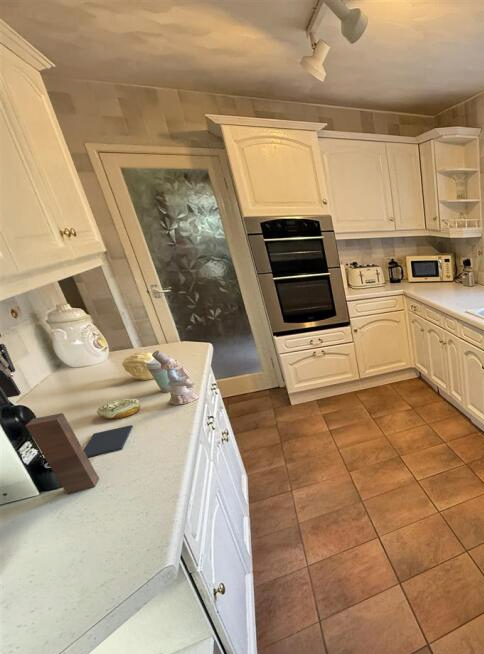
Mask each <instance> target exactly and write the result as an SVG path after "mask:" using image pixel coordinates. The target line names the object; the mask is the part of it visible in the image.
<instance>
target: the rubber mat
mask: <svg viewBox="0 0 484 654" xmlns="http://www.w3.org/2000/svg"><path fill="white" fill-rule="evenodd" d="M132 429H133V424H130V425H125V426H120V427H118V428H112V429H108V430H103V431H99V432H95V433H93V434H92V436H91V437H90V439H89V440H88V441H87V443H86V445H85V446H84V448H83V450H84V452H85V454H86V455H87V457H88V459H90V458H92V457H97V456H101V455H105V454H109V453H112V452H117V451H120V450H123V449H124V447H125V444H126V442H127V440H128V438H129V436H130V434H131V431H132Z"/></svg>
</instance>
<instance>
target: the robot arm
mask: <svg viewBox="0 0 484 654" xmlns="http://www.w3.org/2000/svg"><path fill="white" fill-rule="evenodd" d="M1 337H2V334H1V333H0V338H1ZM10 356H11V355H10V354H9V351H8V349H7V347H6V344H5V343H0V407H5V406H8V405H9V404H10V403H11V402H10V399H9V398H14V397H18V396H20V395H21V394H22V392H21V390H20V389H19V387H18V385H17V384H16V382H15V380H14V379H13V378H14V373H15V372H16V368H15V365H14V364H13V361H12V358H11V357H10Z"/></svg>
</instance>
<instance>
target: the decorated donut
mask: <svg viewBox="0 0 484 654" xmlns="http://www.w3.org/2000/svg"><path fill="white" fill-rule="evenodd" d="M140 408H141V403H140V400H139V399H136V398H122V399H117V400H113V401H111V402H108V403H106V404H103V405H100V406H99V407H98V408H97V410H96V414H97V416H99V417H101V418H102V419H105V420H115V419H117V420H119V419H121V418H125V417H128V416H129V417H130V416H133V415H134V414H136V413H138V412H139V411H140Z"/></svg>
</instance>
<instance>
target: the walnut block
mask: <svg viewBox="0 0 484 654" xmlns="http://www.w3.org/2000/svg"><path fill="white" fill-rule="evenodd" d="M25 428H26V430H27V431H28V433H29V434H30V436H31V438H32V439H33V441H34V443H35V444H36V446H37V448H38V449H39V451H40V452H41V454H42V456H43V458H44V459H45V460H46V462H47V464H48V465H49V467H50V469H51V471H52V472H53V474H54V475H55V477H56V479H57V481H58V482H59V484H60V485H61V487H62V489H63V490H64V492H65V494H66V495H70V494H74V493H78V492H82V491H85V490H89V489H93V488H96V486H97V484H98V482H99V480H100V477H99V475H98V473H97V471H96V469H95V468H94V466H93V465H92V463H91V460H90V458H88V457H87V455H86V454H85V452H84V448H83V446H82V444H81V443H80V441H79V439H78V437H77V436H76V434H75V432H74V430H73V428H72V427H71V425H70V423H69V421H68V419H67V418H66V416H65V414H64V413H63V412H60V413H54V414H49V415H45V416H44V415H43V416H39V417H35V418H32V419H31V420H30V421H28V423H26V424H25Z"/></svg>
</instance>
